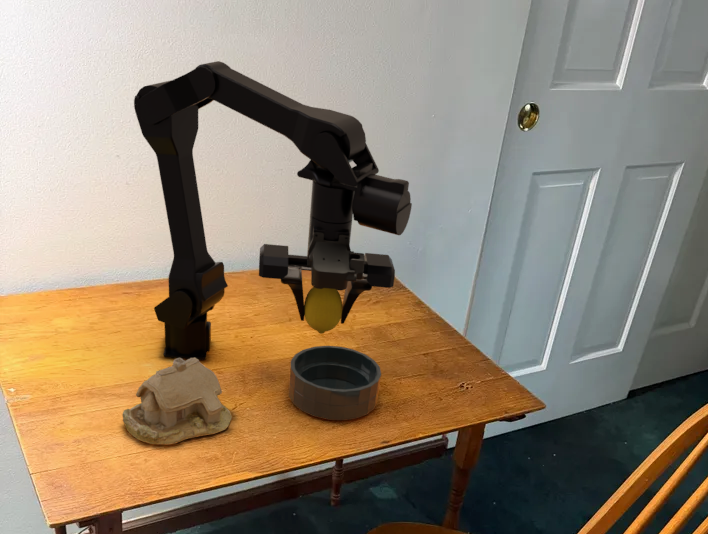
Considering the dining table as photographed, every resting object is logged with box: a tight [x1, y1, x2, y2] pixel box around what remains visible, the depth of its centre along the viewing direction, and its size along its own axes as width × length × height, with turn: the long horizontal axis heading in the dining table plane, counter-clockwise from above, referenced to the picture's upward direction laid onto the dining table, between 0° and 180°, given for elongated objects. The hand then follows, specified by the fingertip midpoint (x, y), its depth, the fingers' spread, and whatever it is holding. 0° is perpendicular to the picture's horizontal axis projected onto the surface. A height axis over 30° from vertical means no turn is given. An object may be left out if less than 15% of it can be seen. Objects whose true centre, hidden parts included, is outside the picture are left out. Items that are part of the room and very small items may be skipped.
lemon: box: [304, 286, 343, 335], centre depth 114 cm, size 6×6×8 cm
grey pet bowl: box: [288, 345, 382, 421], centre depth 120 cm, size 14×14×6 cm
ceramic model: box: [121, 357, 232, 445], centre depth 107 cm, size 14×11×10 cm
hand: (322, 321), depth 115 cm, fingers closed on lemon, 5 cm apart
